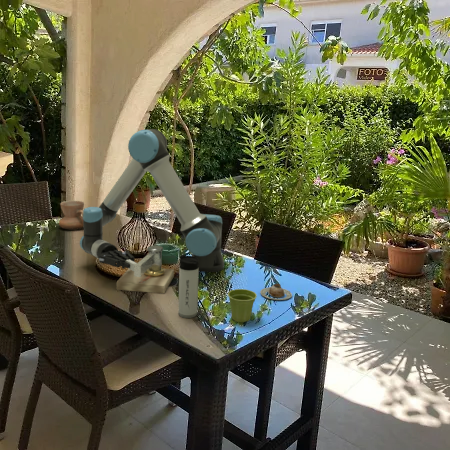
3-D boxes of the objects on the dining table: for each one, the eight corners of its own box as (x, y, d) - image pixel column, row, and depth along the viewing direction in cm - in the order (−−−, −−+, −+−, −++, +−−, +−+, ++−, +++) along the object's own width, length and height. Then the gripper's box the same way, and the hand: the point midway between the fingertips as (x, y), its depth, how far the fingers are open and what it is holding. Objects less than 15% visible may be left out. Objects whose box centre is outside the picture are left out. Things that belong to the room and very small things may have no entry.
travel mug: (186, 308, 159) (188, 253, 154) (200, 314, 155) (202, 257, 150) (173, 314, 155) (174, 257, 150) (188, 320, 151) (189, 262, 146)
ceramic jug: (52, 227, 250) (50, 202, 247) (74, 223, 262) (73, 198, 258) (73, 234, 241) (72, 207, 237) (95, 228, 252) (94, 203, 249)
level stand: (173, 276, 188) (174, 268, 188) (164, 293, 171) (164, 285, 170) (130, 273, 190) (130, 265, 189) (116, 289, 172) (116, 281, 172)
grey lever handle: (148, 268, 186) (148, 244, 184) (167, 270, 185) (167, 246, 182) (127, 287, 166) (126, 261, 164) (148, 289, 165) (148, 263, 162)
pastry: (266, 303, 167) (267, 291, 166) (255, 290, 179) (256, 279, 177) (297, 301, 171) (298, 289, 170) (284, 288, 182) (284, 277, 181)
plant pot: (252, 326, 148) (254, 301, 146) (224, 322, 150) (225, 298, 148) (256, 314, 157) (258, 290, 155) (229, 311, 159) (230, 287, 157)
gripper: (119, 257, 189) (152, 274, 172) (89, 263, 180) (120, 281, 164) (119, 239, 187) (152, 255, 171) (89, 245, 179) (120, 261, 162)
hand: (136, 268), depth 167 cm, fingers closed
